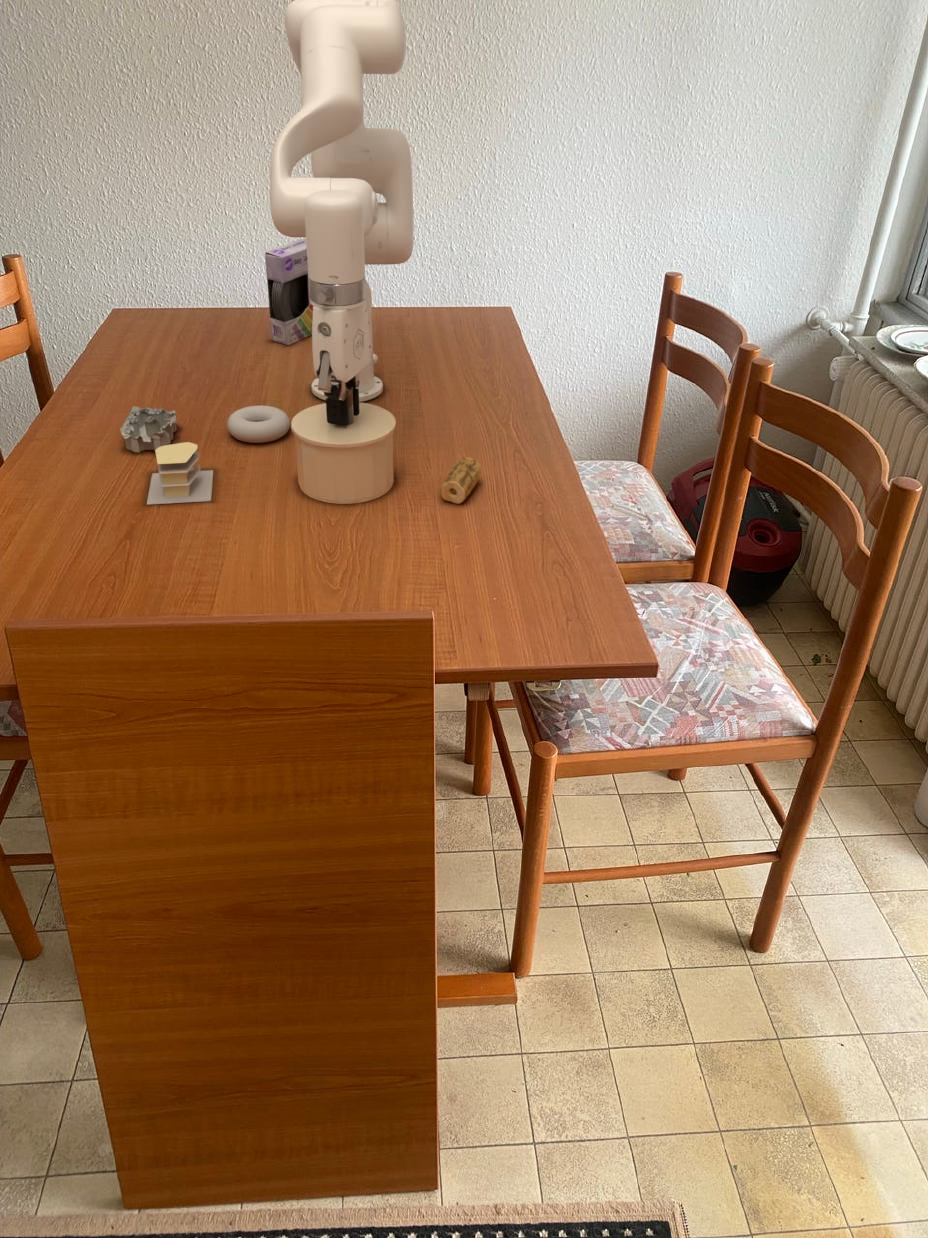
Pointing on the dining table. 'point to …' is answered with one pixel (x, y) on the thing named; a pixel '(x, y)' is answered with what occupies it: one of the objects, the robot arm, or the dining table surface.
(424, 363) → the dining table surface
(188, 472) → the stacked layers on plate
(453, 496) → the tan cylinder with hole
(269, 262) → the cake pan box
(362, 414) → the lid
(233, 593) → the dining table surface
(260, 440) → the donut
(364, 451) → the crock
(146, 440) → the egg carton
